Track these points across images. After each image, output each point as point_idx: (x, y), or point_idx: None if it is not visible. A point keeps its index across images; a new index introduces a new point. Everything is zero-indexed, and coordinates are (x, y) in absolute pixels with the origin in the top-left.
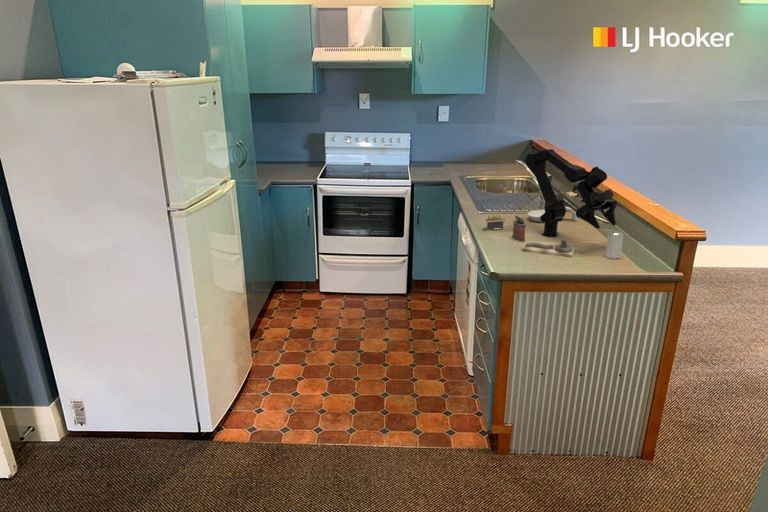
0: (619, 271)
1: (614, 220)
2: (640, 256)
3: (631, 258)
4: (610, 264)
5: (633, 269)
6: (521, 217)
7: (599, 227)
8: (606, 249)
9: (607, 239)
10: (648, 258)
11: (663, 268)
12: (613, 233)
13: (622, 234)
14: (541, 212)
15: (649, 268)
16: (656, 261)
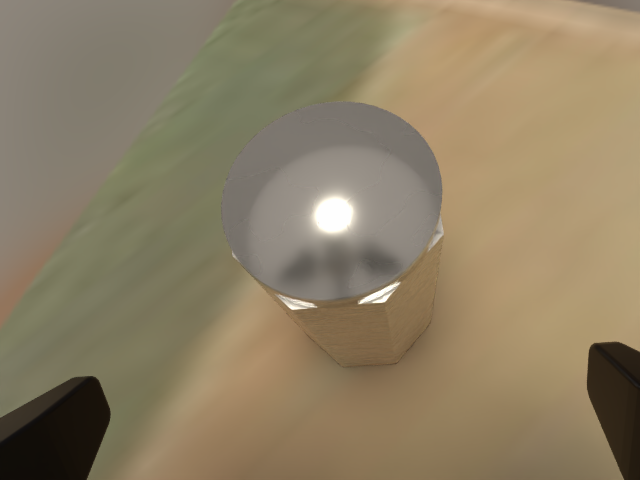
0: (566, 51)
1: (12, 420)
2: (168, 219)
3: None
4: (529, 170)
5: (438, 53)
6: None
7: (605, 343)
8: (415, 326)
9: (389, 327)
10: (162, 169)
11: (251, 22)
12: (398, 176)
13: (314, 105)
14: None
15: (325, 41)
16: (174, 113)
